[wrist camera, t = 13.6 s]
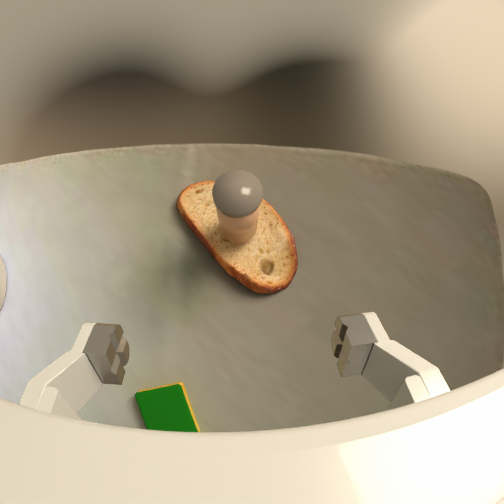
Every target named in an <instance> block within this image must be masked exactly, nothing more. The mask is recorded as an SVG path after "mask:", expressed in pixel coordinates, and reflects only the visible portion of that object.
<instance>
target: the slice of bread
mask: <svg viewBox="0 0 504 504" xmlns="http://www.w3.org/2000/svg"><path fill="white" fill-rule="evenodd" d="M214 183H215V181H203V182H199V183H195V184H192V185H189V186H188V187H186V188H185V189H184V190H183V191H182V192H181V193H180V195H179V197H178V200H177V207H178V209H179V211H180V213H181V215H182V217H183V218H184V220H185V222H186V223H187V224H188V226H189V227H190V229H191V230H192V231H193V232H194V233H195V235H196V236H197V237H198V238H199V240H200V241H201V242H202V243H203V245H204V246H205V247H206V249H207V250H208V251H209V252H210V254H211V255H212V256H213V257H214V259H215V260H216V261H217V262H218V263H219V264H220V265H221V266H222V267H223V268H224V270H225V271H226V272H227V273H228V274H229V275H230V276H232V277H234V278H236V279H237V280H238V281H240V282H241V283H242V284H243V285H245V286H246V287H247V288H249V289H251V290H252V291H255V292H257V293H274V292H277V291H280V290H284V289H286V288H287V287H288V286H289V284H290V283H291V281H292V279H293V277H294V275H295V273H296V271H297V267H298V259H297V251H296V244H295V240H294V237H293V235H292V234H291V232H290V231H289V229H288V227H287V225H286V224H285V222H284V221H283V219H282V218H281V217H280V216H279V215H278V214H277V213H276V211H275V210H274V209H273V207H272V206H271V205H269V204H268V203H267V202H266V201H265V200H263V199H262V201H261V204H260V210H259V217H258V225H257V231H256V233H255V235H254V237H253V238H252V239H251V240H249V241H247V242H245V243H241V244H236V243H232V242H230V241H228V240H227V239H225V238H224V236H223V235H222V233H221V229H220V225H219V220H218V215H217V211H216V206H215V204H214V201H213V196H212V189H213V185H214Z"/></svg>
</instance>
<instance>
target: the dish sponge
mask: <svg viewBox="0 0 504 504" xmlns="http://www.w3.org/2000/svg"><path fill="white" fill-rule="evenodd" d="M135 397H136V400H137V403H138V406H139V409H140V412H141V414H142V417H143V420H144V422H145V425H146V428H147V430H159V431H174V432H201V431H200V429H199V426H198V424H197V421H196V418H195V415H194V413H193V410H192V407H191V404H190V402H189V399H188V396H187V393H186V390H185V387H184V384H183V383H181V382H178V383H173V384H169V385H164V386H160V387H155V388H150V389H145V390H140V391H139V392H137V393H136V394H135Z"/></svg>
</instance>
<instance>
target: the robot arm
mask: <svg viewBox="0 0 504 504" xmlns="http://www.w3.org/2000/svg"><path fill="white" fill-rule="evenodd" d="M6 285H7V277H6V269H5V265H4V262H3V259H2V258H1V256H0V310H1V308H2V305H3V302H4V299H5V294H6ZM335 327H336V330H334V331H333V332H332V337H331V347H332V351H333V355H334V356H335V357H336V358H338V362H337V367H338V370H339V373H340V375H341V377H349V376H356V375H362V377H363V378H365V379H366V380H367V381H368V382H369V383H370V384H371V385H372V386H373V387H375V388H376V389H377V390H378V391H379V392H380V393H381V394H382V395H383V396H385V397H386V398H387V399H388V400H389V401H390V402H391V404H390V405H389V407H388V409H387V410H386V411H383V412H379V413H375V414H371V415H366V416H362V417H357V418H352V419H347V420H342V421H336V422H330V423H324V424H318V425H311V426H303V427H295V428H286V429H276V430H264V431H248V432H174V431H159V430H147V429H137V428H128V427H120V426H113V425H106V424H100V423H94V422H89V421H83V420H82V419H81V418H80V417H79V415H78V414H77V412H78V411H79V410H80V409H81V408H82V407H83V406H84V405H85V404H86V402H87V401H88V400H89V399H90V398H91V397H92V396H93V395H94V394H95V393H96V391H97V390H98V389H99V388H100V387H101V386H102V385H103V384H102V383H104V384H117V385H122V382H123V378H124V374H125V370H124V368H123V366H125V365H126V364H127V363H128V360H129V345H128V342H127V340H126V339H125V338H124V337H123V336H122V335H123V330H122V327H121V325H118V324H103V323H85V324H83V326H82V328H81V330H80V332H79V335H78V337H77V339H76V341H75V343H74V345H73V347H72V350H71V352H69V351H68V352H66V353H65V354H64V355H62V356H61V357H60V358H58V359H57V360H56V361H54V362H53V363H52V364H50V365H49V366H48V367H46V368H45V369H44V370H43V371H41V372H40V373H39V374H37V375H36V376H35V377H34V378H32V379H31V380H30V381H29V382H28V384H27V386H26V389H25V391H24V393H23V396H22V398H21V400H20V403H19V404H16V403H13V402H10V401H7V400H4V399H2V398H0V504H504V368H503V369H501V370H499V371H497V372H495V373H493V374H491V375H488V376H486V377H484V378H482V379H479V380H477V381H474V382H472V383H470V384H467V385H465V386H462V387H460V388H457V389H454V390H452V391H450V389H449V387H448V386H447V384H446V382H445V380H444V378H443V376H442V375H441V373H440V371H439V369H438V368H437V367H436V366H434V365H432V364H431V363H429V362H428V361H426V360H424V359H423V358H421V357H420V356H418V355H416V354H415V353H413V352H412V351H410V350H408V349H407V348H405V347H404V346H402V345H400V344H399V343H397V342H396V341H394V340H391V341H390V339H389V337H388V336H387V334H386V332H385V330H384V328H383V326H382V324H381V323H380V321H379V319H378V317H377V315H376V314H375V313H374V312H369V313H362V314H354V315H345V316H337V318H336V319H335Z"/></svg>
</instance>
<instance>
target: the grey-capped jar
mask: <svg viewBox="0 0 504 504" xmlns="http://www.w3.org/2000/svg"><path fill="white" fill-rule="evenodd" d="M262 195H263V189H262V185H261V183H260V181H259V180H258V178H257V177H256V176H255V175H253V174H252V173H250V172H247V171H244V170H231V171H228V172H226V173H224V174H222V175H221V176H220V177H219V178H218V179H217V180H216V181H215V183H214V185H213V189H212V196H213V201H214V204H215V206H216V211H217V215H218V220H219V225H220V229H221V233H222V235H223V236H224V238H225V239H227V240H228V241H230V242H232V243H236V244H241V243H245V242H247V241H249V240H251V239H252V238H253V237H254V235H255V233H256V231H257V225H258V217H259V210H260V204H261V201H262Z"/></svg>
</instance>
